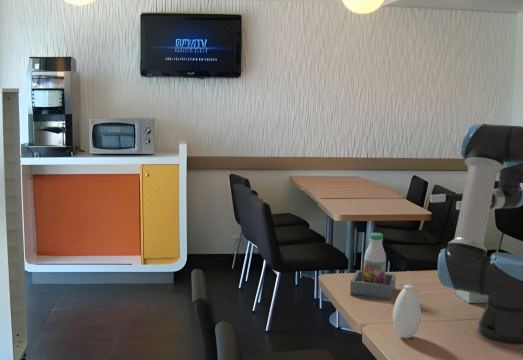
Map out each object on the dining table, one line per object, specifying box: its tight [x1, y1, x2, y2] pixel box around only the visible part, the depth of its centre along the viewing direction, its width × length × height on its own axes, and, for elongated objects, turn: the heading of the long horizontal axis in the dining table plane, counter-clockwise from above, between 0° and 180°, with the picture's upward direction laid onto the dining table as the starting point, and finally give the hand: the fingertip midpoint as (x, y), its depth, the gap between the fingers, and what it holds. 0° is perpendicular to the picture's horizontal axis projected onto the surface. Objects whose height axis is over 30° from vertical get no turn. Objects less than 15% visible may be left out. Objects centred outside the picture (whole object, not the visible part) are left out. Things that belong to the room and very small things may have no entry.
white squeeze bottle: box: [392, 276, 422, 339], centre depth 169 cm, size 8×8×18 cm
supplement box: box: [456, 290, 488, 304], centre depth 204 cm, size 9×9×15 cm
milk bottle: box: [362, 232, 387, 285], centre depth 208 cm, size 8×8×20 cm
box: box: [349, 269, 397, 301], centre depth 209 cm, size 14×14×5 cm
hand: (443, 202), depth 211 cm, fingers open, 13 cm apart
